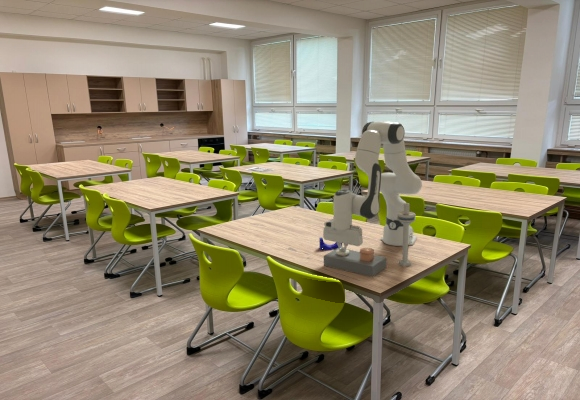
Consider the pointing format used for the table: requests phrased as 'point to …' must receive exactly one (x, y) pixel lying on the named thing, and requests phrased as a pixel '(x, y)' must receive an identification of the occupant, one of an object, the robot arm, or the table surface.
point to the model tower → (405, 232)
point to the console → (355, 263)
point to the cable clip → (327, 247)
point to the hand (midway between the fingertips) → (342, 251)
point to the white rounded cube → (342, 253)
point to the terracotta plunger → (366, 254)
